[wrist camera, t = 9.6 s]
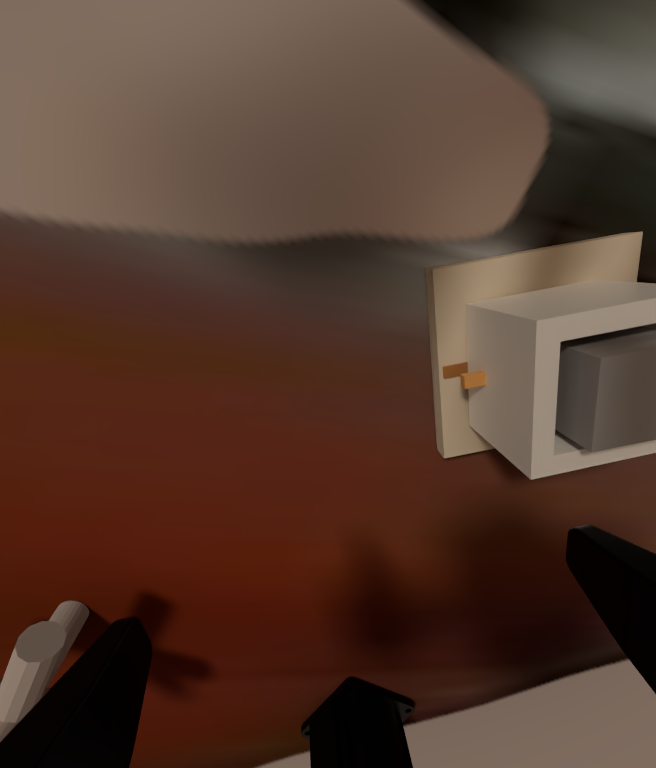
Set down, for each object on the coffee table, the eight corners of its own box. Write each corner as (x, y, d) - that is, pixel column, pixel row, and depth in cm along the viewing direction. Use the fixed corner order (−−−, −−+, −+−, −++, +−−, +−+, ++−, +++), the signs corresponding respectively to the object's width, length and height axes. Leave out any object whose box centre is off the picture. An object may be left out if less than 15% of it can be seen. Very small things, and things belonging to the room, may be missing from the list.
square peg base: (623, 233, 18) (824, 217, 11) (603, 416, 21) (747, 488, 14) (424, 268, 17) (508, 275, 11) (437, 449, 21) (505, 539, 14)
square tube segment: (594, 279, 17) (712, 287, 12) (583, 401, 19) (679, 447, 15) (445, 307, 17) (508, 326, 12) (451, 429, 19) (507, 485, 14)
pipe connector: (182, 577, 22) (101, 817, 12) (128, 682, 24) (26, 949, 15) (3, 523, 19) (-265, 771, 10) (-36, 646, 22) (-281, 935, 13)
